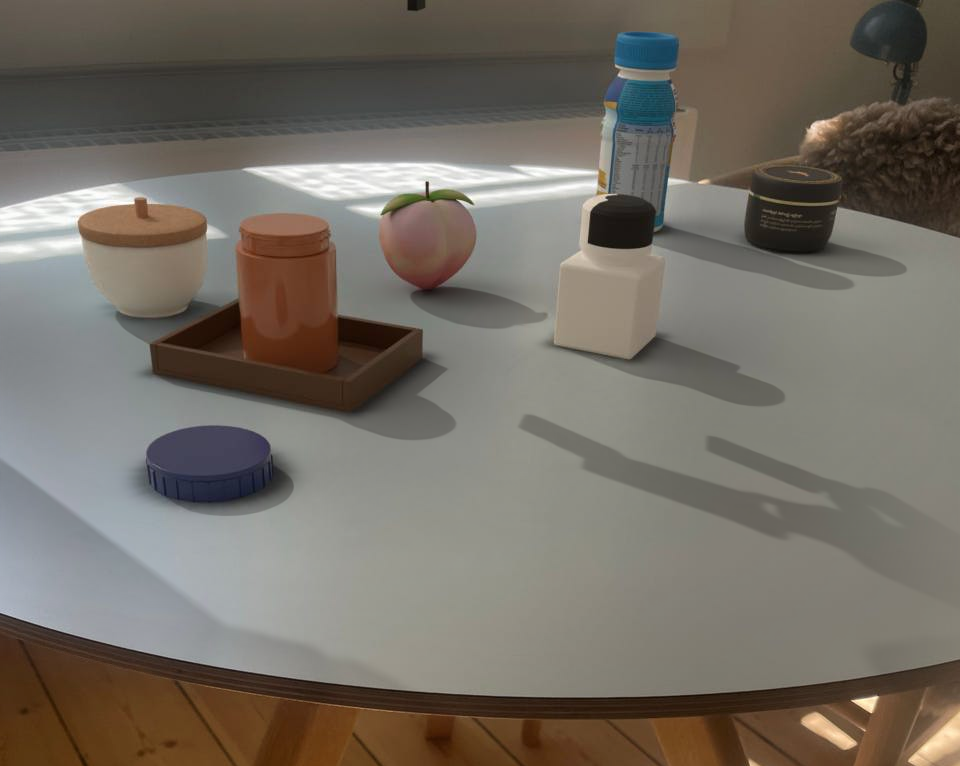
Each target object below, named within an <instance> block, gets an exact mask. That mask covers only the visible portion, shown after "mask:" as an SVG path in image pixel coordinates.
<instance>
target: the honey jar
mask: <svg viewBox="0 0 960 766" xmlns="http://www.w3.org/2000/svg"><path fill="white" fill-rule="evenodd" d="M238 233H240V240H238V241H237V242H236V243H235V245H234V253H235V267H236V268H235V269H236V279H237V281H236V283H237V295H238V298H239V310H240V323H241V337H242V351H243V359H249V360H254V361H259V362H264V363H270V364H275V365H280V366H285V367H291V368H296V369H301V370H306V371H311V372H317V373H323V372H326V371H328V370H330V369H332V368H334V367H335V366H336V365H337V364H338V362H339V339H338V315H339V307H338V306H339V305H338V303H339V301H338V268H337V267H338V265H337V263H338V262H337V245H336V243H335V242H333V241H332V240H330V238H331V237H332V233H331V230H330V225H329V222H328V221H326V220H325V219H323V218H321V217H318V216H314V215H309V214H303V213H288V212H286V213H285V212H282V213H281V212H277V213H275V212H274V213H265V214H264V213H263V214H259V215H257V214H256V215H254V216H253V215H252V216H250V217H247V218H245V219H243V220H242V221H240V224H239V227H238Z"/></svg>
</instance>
